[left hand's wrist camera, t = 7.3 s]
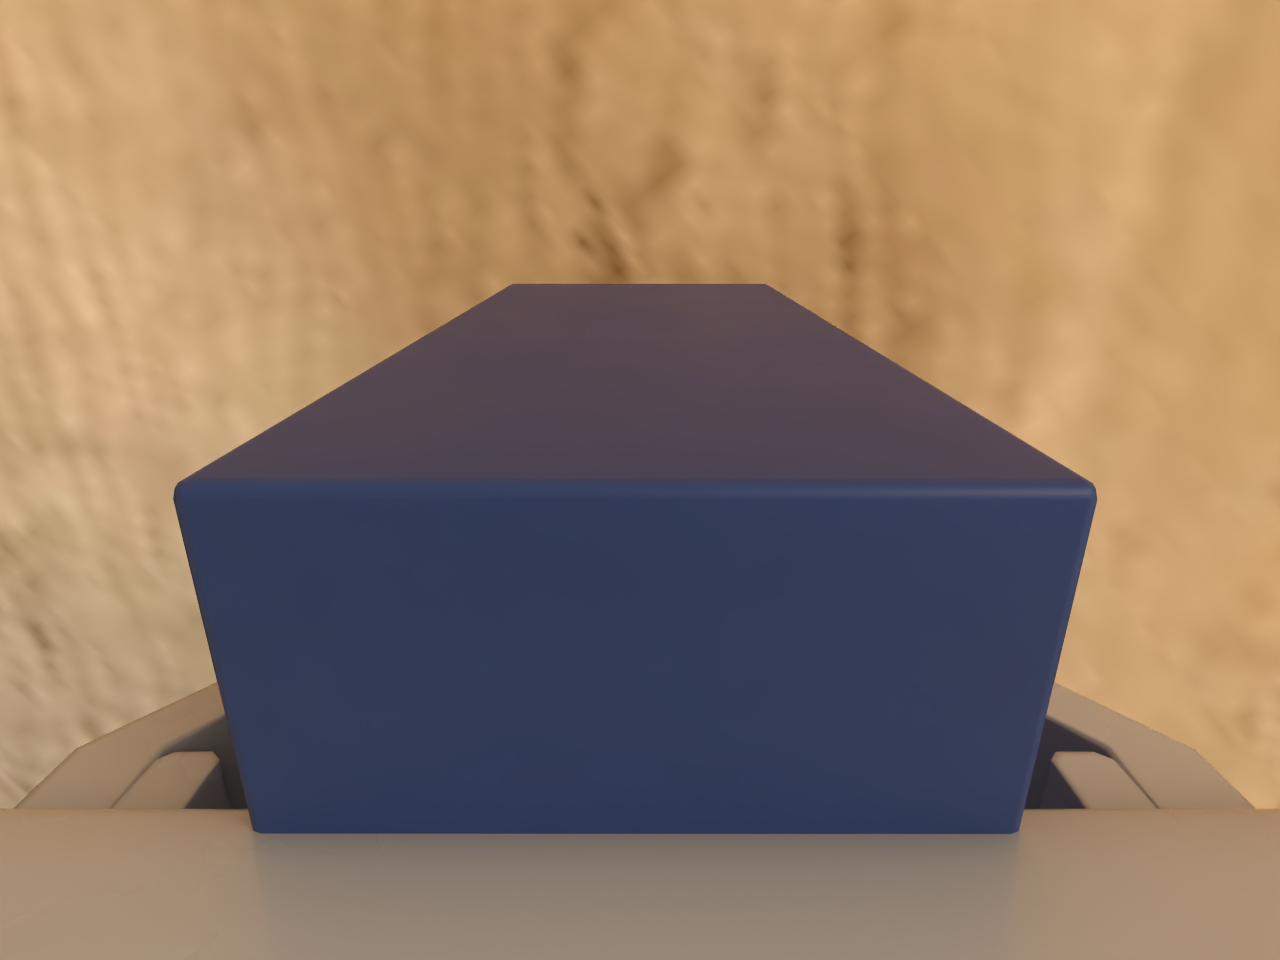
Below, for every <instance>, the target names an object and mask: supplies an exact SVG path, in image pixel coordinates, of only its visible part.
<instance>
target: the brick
mask: <svg viewBox="0 0 1280 960" xmlns="http://www.w3.org/2000/svg"><path fill="white" fill-rule="evenodd" d="M173 500H174V504H175V508H176V512H177V516H178V520H179V525H180V529H181V533H182V537H183V541H184V545H185V550H186V554H187V558H188V562H189V566H190V570H191V574H192V579H193V583H194V587H195V591H196V595H197V599H198V604H199V608H200V612H201V616H202V620H203V624H204V629H205V633H206V637H207V641H208V645H209V649H210V653H211V658H212V662H213V666H214V670H215V674H216V678H217V683H218V687H219V691H220V695H221V699H222V703H223V708H224V712H225V716H226V720H227V724H228V728H229V733H230V737H231V741H232V745H233V749H234V753H235V757H236V762H237V766H238V770H239V774H240V778H241V782H242V787H243V791H244V795H245V799H246V803H247V807H248V812H249V816H250V820H251V824H252V828H253V831H255V832H258V833H261V834H1012V833H1015V832H1018V831H1019V828H1020V824H1021V820H1022V815H1023V811H1024V807H1025V803H1026V798H1027V794H1028V790H1029V786H1030V782H1031V777H1032V773H1033V769H1034V765H1035V760H1036V756H1037V752H1038V748H1039V743H1040V739H1041V735H1042V731H1043V727H1044V722H1045V718H1046V714H1047V710H1048V705H1049V701H1050V697H1051V693H1052V688H1053V684H1054V680H1055V676H1056V672H1057V667H1058V663H1059V659H1060V655H1061V650H1062V646H1063V642H1064V638H1065V633H1066V629H1067V625H1068V621H1069V617H1070V612H1071V608H1072V604H1073V600H1074V595H1075V591H1076V587H1077V583H1078V578H1079V574H1080V570H1081V566H1082V562H1083V557H1084V553H1085V549H1086V545H1087V540H1088V536H1089V532H1090V528H1091V523H1092V519H1093V515H1094V511H1095V507H1096V502H1097V495H1096V489H1095V487H1094V485H1093V483H1091V482H1090V481H1088V480H1086V479H1085V478H1083V477H1081V476H1080V475H1078V474H1076V473H1075V472H1073V471H1072V470H1070V469H1068V468H1067V467H1065V466H1063V465H1062V464H1060V463H1058V462H1057V461H1055V460H1054V459H1052V458H1050V457H1049V456H1047V455H1045V454H1044V453H1042V452H1040V451H1039V450H1037V449H1035V448H1034V447H1032V446H1031V445H1029V444H1027V443H1026V442H1024V441H1022V440H1021V439H1019V438H1017V437H1016V436H1014V435H1013V434H1011V433H1009V432H1008V431H1006V430H1004V429H1003V428H1001V427H999V426H998V425H996V424H994V423H993V422H991V421H990V420H988V419H986V418H985V417H983V416H981V415H980V414H978V413H976V412H975V411H973V410H972V409H970V408H968V407H967V406H965V405H963V404H962V403H960V402H958V401H957V400H955V399H953V398H952V397H950V396H949V395H947V394H945V393H944V392H942V391H940V390H939V389H937V388H935V387H934V386H932V385H930V384H929V383H927V382H926V381H924V380H922V379H921V378H919V377H917V376H916V375H914V374H912V373H911V372H909V371H908V370H906V369H904V368H903V367H901V366H899V365H898V364H896V363H894V362H893V361H891V360H889V359H888V358H886V357H885V356H883V355H881V354H880V353H878V352H876V351H875V350H873V349H871V348H870V347H868V346H867V345H865V344H863V343H862V342H860V341H858V340H857V339H855V338H853V337H852V336H850V335H848V334H847V333H845V332H844V331H842V330H840V329H839V328H837V327H835V326H834V325H832V324H830V323H829V322H827V321H825V320H824V319H822V318H821V317H819V316H817V315H816V314H814V313H812V312H811V311H809V310H807V309H806V308H804V307H803V306H801V305H799V304H798V303H796V302H794V301H793V300H791V299H789V298H788V297H786V296H784V295H783V294H781V293H780V292H778V291H776V290H775V289H773V288H771V287H770V286H768V285H766V284H512V285H510V286H508V287H507V288H505V289H503V290H502V291H500V292H498V293H497V294H495V295H493V296H491V297H490V298H488V299H486V300H485V301H483V302H481V303H480V304H478V305H476V306H475V307H473V308H471V309H470V310H468V311H466V312H465V313H463V314H461V315H459V316H458V317H456V318H454V319H453V320H451V321H449V322H448V323H446V324H444V325H443V326H441V327H439V328H438V329H436V330H434V331H433V332H431V333H429V334H428V335H426V336H424V337H422V338H421V339H419V340H417V341H416V342H414V343H412V344H411V345H409V346H407V347H406V348H404V349H402V350H401V351H399V352H397V353H396V354H394V355H392V356H390V357H389V358H387V359H385V360H384V361H382V362H380V363H379V364H377V365H375V366H374V367H372V368H370V369H369V370H367V371H365V372H364V373H362V374H360V375H359V376H357V377H355V378H353V379H352V380H350V381H348V382H347V383H345V384H343V385H342V386H340V387H338V388H337V389H335V390H333V391H332V392H330V393H328V394H327V395H325V396H323V397H321V398H320V399H318V400H316V401H315V402H313V403H311V404H310V405H308V406H306V407H305V408H303V409H301V410H300V411H298V412H296V413H295V414H293V415H291V416H290V417H288V418H286V419H284V420H283V421H281V422H279V423H278V424H276V425H274V426H273V427H271V428H269V429H268V430H266V431H264V432H263V433H261V434H259V435H258V436H256V437H254V438H252V439H251V440H249V441H247V442H246V443H244V444H242V445H241V446H239V447H237V448H236V449H234V450H232V451H231V452H229V453H227V454H226V455H224V456H222V457H221V458H219V459H217V460H215V461H214V462H212V463H210V464H209V465H207V466H205V467H204V468H202V469H200V470H199V471H197V472H195V473H194V474H192V475H190V476H189V477H187V478H185V479H183V480H182V481H180V482H178V484H177V485H176V487H175V490H174V498H173Z"/></svg>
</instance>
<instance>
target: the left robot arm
mask: <svg viewBox="0 0 1280 960" xmlns="http://www.w3.org/2000/svg"><path fill="white" fill-rule="evenodd" d="M0 960H1280V809H1256V808H1255V807H1254V806H1253V805H1252V804H1251V803H1250V802H1248V801H1247V800H1246V799H1245V798H1244V797H1243V796H1242V795H1241V794H1240V793H1239V792H1238V791H1237V790H1236V789H1235V788H1234V787H1233V786H1232V785H1231V784H1230V783H1229V782H1228V781H1227V780H1226V779H1225V778H1224V777H1223V776H1222V775H1221V774H1220V773H1219V772H1218V771H1217V770H1216V769H1215V768H1214V767H1213V766H1212V765H1211V764H1210V763H1209V762H1208V761H1207V760H1205V759H1204V758H1203V757H1202V756H1201V755H1200V754H1199V753H1198V752H1197V751H1196V750H1195V749H1193V748H1191V747H1189V746H1187V745H1185V744H1182V743H1180V742H1178V741H1176V740H1174V739H1172V738H1170V737H1168V736H1166V735H1164V734H1162V733H1159V732H1157V731H1155V730H1153V729H1151V728H1149V727H1147V726H1145V725H1143V724H1141V723H1138V722H1136V721H1134V720H1132V719H1130V718H1128V717H1126V716H1124V715H1122V714H1120V713H1117V712H1115V711H1113V710H1111V709H1109V708H1107V707H1105V706H1103V705H1101V704H1099V703H1097V702H1094V701H1092V700H1090V699H1088V698H1086V697H1084V696H1082V695H1080V694H1078V693H1076V692H1073V691H1071V690H1069V689H1067V688H1065V687H1063V686H1061V685H1059V684H1057V683H1055V682H1054V684H1053V688H1052V693H1051V697H1050V701H1049V705H1048V710H1047V714H1046V718H1045V722H1044V727H1043V731H1042V735H1041V739H1040V743H1039V748H1038V752H1037V756H1036V760H1035V765H1034V769H1033V773H1032V777H1031V782H1030V786H1029V790H1028V794H1027V798H1026V803H1025V807H1024V811H1023V815H1022V820H1021V824H1020V828H1019V831H1018V832H1015V833H1012V834H261V833H258V832H255V831H253V828H252V824H251V820H250V816H249V812H248V807H247V803H246V799H245V795H244V791H243V787H242V782H241V778H240V774H239V770H238V766H237V762H236V757H235V753H234V749H233V745H232V741H231V737H230V733H229V728H228V724H227V720H226V716H225V712H224V708H223V703H222V699H221V695H220V691H219V687H218V683H215V684H212V685H210V686H208V687H206V688H204V689H202V690H200V691H198V692H195V693H193V694H191V695H189V696H187V697H185V698H183V699H181V700H178V701H176V702H174V703H172V704H170V705H168V706H166V707H164V708H161V709H159V710H157V711H155V712H153V713H151V714H149V715H147V716H144V717H142V718H140V719H138V720H136V721H134V722H132V723H130V724H127V725H125V726H123V727H121V728H119V729H117V730H115V731H113V732H110V733H108V734H106V735H104V736H102V737H100V738H98V739H96V740H93V741H91V742H89V743H87V744H85V745H83V746H81V747H79V748H76V749H75V750H74V751H73V752H72V753H71V754H70V755H69V756H68V757H67V758H66V759H65V760H64V761H63V762H62V763H61V764H60V765H59V766H57V767H56V768H55V769H54V770H53V771H52V772H51V773H50V774H49V775H48V776H47V777H46V778H45V779H44V780H43V781H42V782H41V783H40V784H39V785H38V786H36V787H35V788H34V789H33V790H32V791H31V792H30V793H29V794H28V795H27V796H26V797H25V798H24V799H23V800H22V801H21V802H20V803H19V804H18V805H17V806H16V807H14V808H13V809H0Z"/></svg>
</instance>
